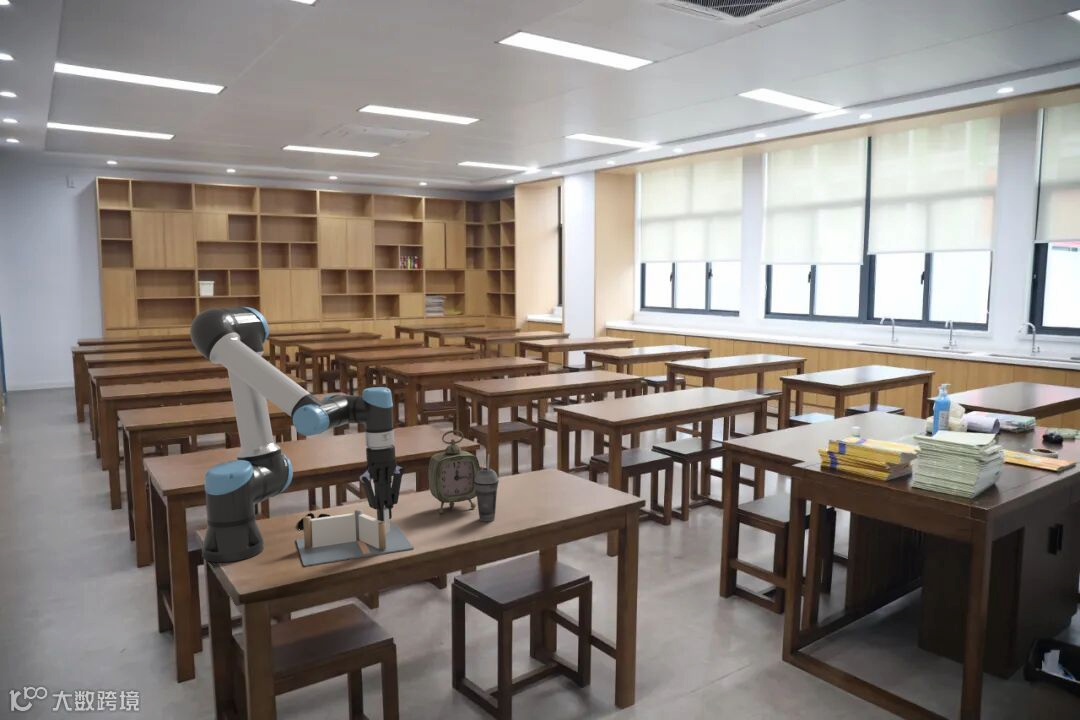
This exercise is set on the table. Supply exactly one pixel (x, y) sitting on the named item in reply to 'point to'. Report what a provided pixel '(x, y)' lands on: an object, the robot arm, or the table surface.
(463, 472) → the tabletop clock
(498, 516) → the table surface
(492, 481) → the beverage cup
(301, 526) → the black jagged rounded shell
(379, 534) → the cream upright panel
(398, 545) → the card
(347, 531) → the fixed fence section
